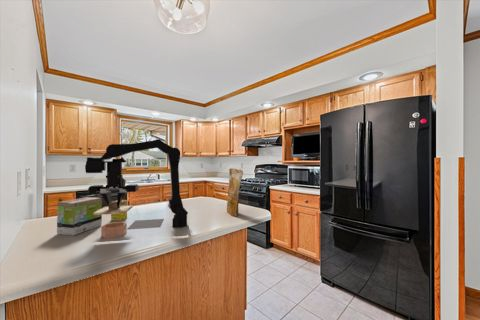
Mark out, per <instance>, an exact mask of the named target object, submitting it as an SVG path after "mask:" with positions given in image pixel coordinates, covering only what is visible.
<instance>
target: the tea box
mask: <svg viewBox="0 0 480 320" xmlns="http://www.w3.org/2000/svg"><path fill="white" fill-rule="evenodd" d="M102 206H103V197H90V196H86V197H81V198H75V199H70V200H64V201H59V202H57V213H56V215H57V217H56V234H57V235H65V236H76V235H78V234H81V233H83V232H84V233H85V232H87V231H89V230H90V231H91V230H92V229H95V228H100V227H102V222H103V221H102V218H103V216H102V215H103V214H102V215H93V213H94V212H96V211H98V210H100V209H101V208H103V207H102Z"/></svg>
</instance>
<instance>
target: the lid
mask: <svg viewBox="0 0 480 320" xmlns="http://www.w3.org/2000/svg"><path fill="white" fill-rule="evenodd" d="M132 208H134V206H133V205H127V206H120V207H119V208H118V206H117V200H111V202H110V203H109V207H108V206H103V207H102V208H101V209H100V210H98V211H96V212H94V213H93V215H111V214H124V213H126V212H127V213H128V212H129V211H130V210H131V209H132Z"/></svg>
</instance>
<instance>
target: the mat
mask: <svg viewBox="0 0 480 320" xmlns="http://www.w3.org/2000/svg"><path fill="white" fill-rule="evenodd" d="M164 221H165V218H158V219H157V218H156V219H153V218H151V219H136V220H134V221H133V222H132V223H131V224H130V225H129V226H128V227H127V230H138V229H156V228H157V229H158V228H161V226H162V224H163V223H164Z"/></svg>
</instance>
